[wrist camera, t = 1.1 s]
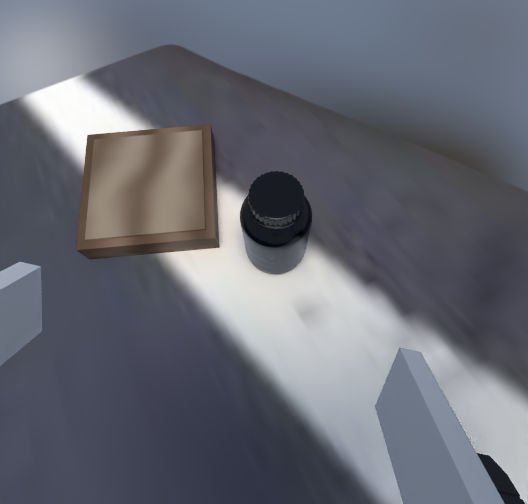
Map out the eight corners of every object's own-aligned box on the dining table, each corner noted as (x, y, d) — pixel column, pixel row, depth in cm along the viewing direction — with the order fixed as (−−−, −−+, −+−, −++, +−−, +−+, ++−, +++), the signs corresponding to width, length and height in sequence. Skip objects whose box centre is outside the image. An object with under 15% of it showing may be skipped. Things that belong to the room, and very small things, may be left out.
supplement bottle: (316, 257, 40) (333, 209, 29) (264, 285, 39) (260, 248, 28) (286, 210, 43) (290, 148, 31) (235, 236, 42) (221, 182, 30)
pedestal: (214, 139, 46) (209, 122, 43) (219, 247, 41) (214, 236, 38) (99, 150, 46) (86, 133, 43) (89, 259, 41) (74, 249, 38)
